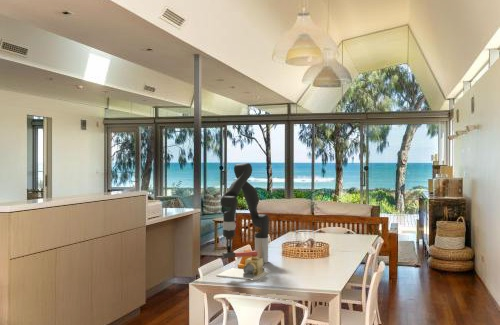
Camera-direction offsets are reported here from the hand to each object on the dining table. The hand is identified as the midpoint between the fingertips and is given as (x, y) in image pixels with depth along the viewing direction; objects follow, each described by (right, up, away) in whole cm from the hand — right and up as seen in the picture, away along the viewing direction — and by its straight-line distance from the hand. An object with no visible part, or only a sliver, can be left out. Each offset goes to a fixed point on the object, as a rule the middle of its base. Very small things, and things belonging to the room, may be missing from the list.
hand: (229, 256), depth 309 cm
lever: (+7, 0, -1) cm, 7 cm away
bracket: (+11, -12, +22) cm, 27 cm away
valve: (+15, -12, +2) cm, 19 cm away
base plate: (+9, -12, +4) cm, 15 cm away
